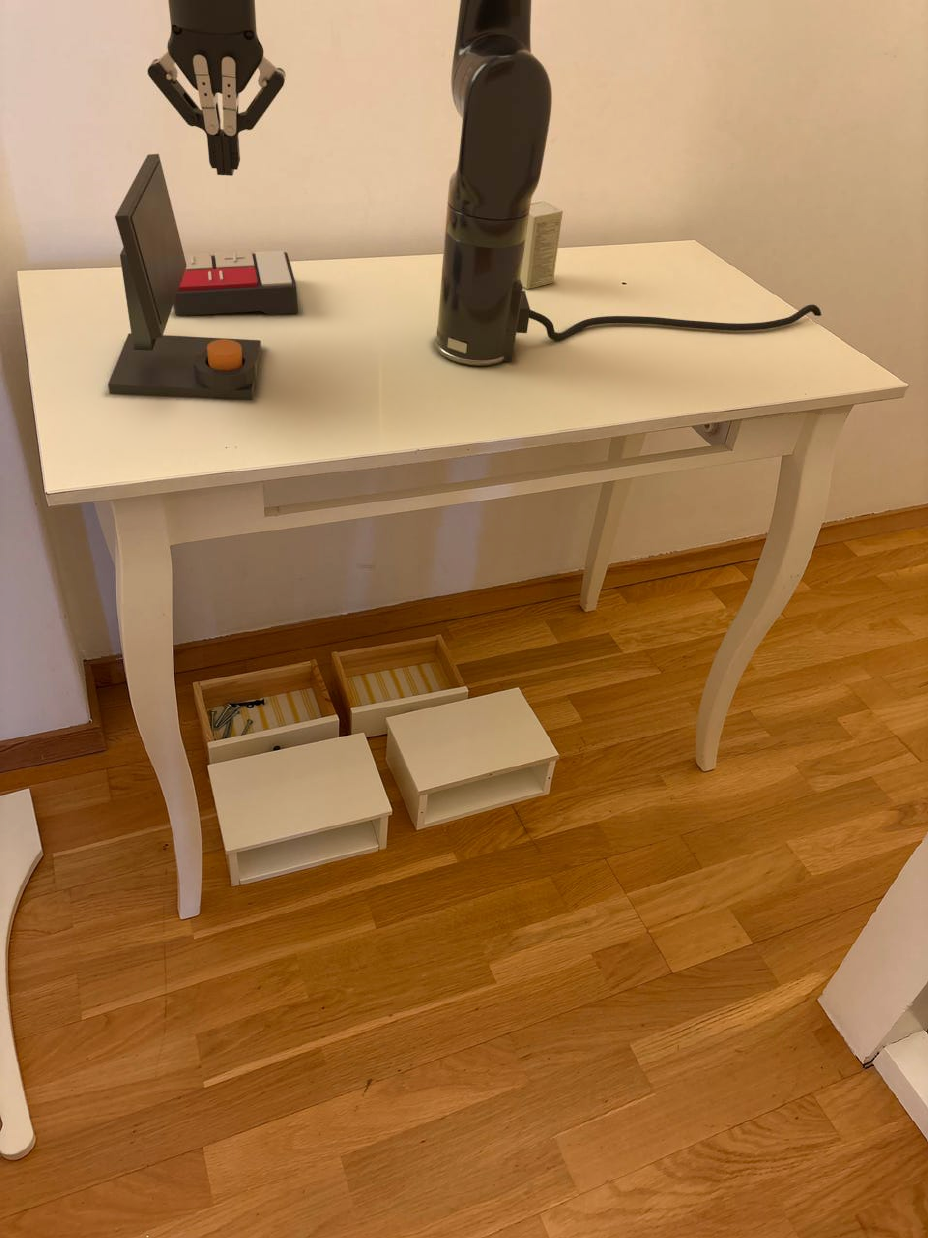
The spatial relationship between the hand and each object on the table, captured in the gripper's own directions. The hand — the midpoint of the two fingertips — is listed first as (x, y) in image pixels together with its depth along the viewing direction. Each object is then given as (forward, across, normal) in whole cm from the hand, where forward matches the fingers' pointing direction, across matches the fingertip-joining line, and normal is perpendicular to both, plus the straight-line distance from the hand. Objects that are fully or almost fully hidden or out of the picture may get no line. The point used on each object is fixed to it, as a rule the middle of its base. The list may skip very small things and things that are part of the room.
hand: (226, 172), depth 95 cm
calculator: (+22, -3, +19) cm, 29 cm away
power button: (+19, -1, -4) cm, 19 cm away
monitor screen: (+13, -7, -1) cm, 15 cm away
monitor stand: (+18, -10, -1) cm, 21 cm away
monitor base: (+21, -6, -1) cm, 22 cm away
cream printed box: (+22, +37, +30) cm, 53 cm away
